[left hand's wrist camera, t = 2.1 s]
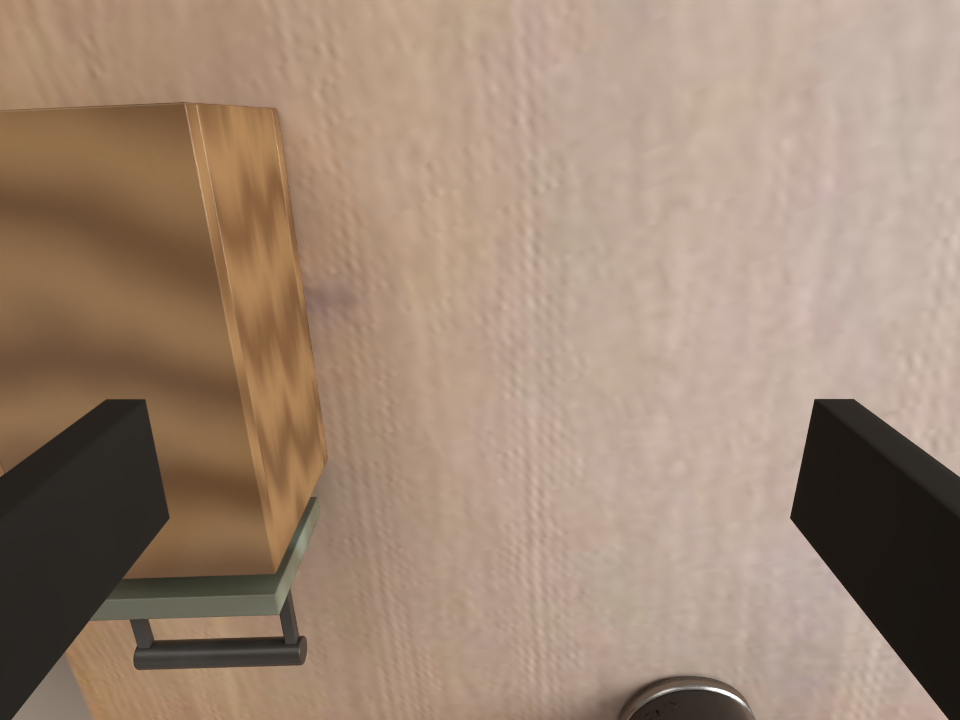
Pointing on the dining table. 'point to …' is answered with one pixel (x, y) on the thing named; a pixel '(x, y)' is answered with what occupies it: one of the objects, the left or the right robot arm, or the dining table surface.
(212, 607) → the drawer
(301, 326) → the cabinet
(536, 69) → the dining table surface
